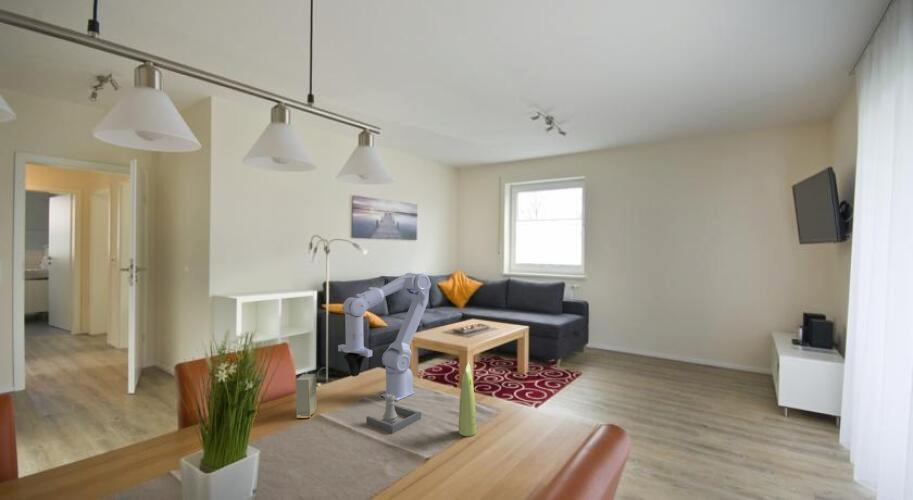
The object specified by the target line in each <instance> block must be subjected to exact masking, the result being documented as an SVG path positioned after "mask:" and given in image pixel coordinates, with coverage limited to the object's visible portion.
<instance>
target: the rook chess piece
mask: <svg viewBox="0 0 913 500" xmlns="http://www.w3.org/2000/svg"><path fill="white" fill-rule="evenodd" d="M394 399H395V396H394V394H393V393H392V395H391V393H389V395H388V394H386V397H384V400H385V411H384V414H383V416H382V417H383V419H382V421H385V422H388V423H390V424H395V423H397V421H398V413H396V412H395V409H394V405H395V403H396V401H395V400H394Z"/></svg>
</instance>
